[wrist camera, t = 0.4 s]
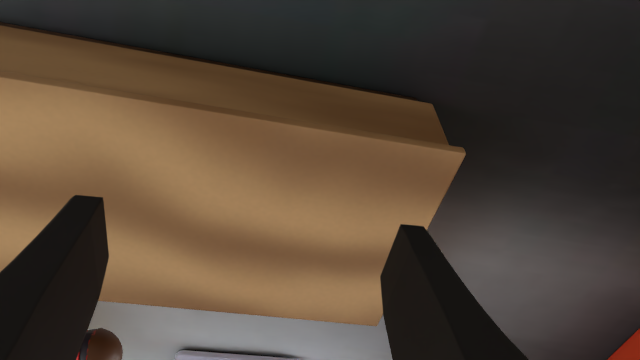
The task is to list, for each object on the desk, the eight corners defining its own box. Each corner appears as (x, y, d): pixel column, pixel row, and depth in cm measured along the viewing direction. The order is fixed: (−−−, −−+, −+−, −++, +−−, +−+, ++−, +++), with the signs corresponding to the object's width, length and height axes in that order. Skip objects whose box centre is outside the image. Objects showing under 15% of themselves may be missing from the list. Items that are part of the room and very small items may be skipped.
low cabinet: (365, 255, 29) (376, 326, 26) (-115, 198, 24) (-179, 275, 21) (437, 88, 22) (466, 153, 19) (-201, -33, 18) (-315, 25, 14)
